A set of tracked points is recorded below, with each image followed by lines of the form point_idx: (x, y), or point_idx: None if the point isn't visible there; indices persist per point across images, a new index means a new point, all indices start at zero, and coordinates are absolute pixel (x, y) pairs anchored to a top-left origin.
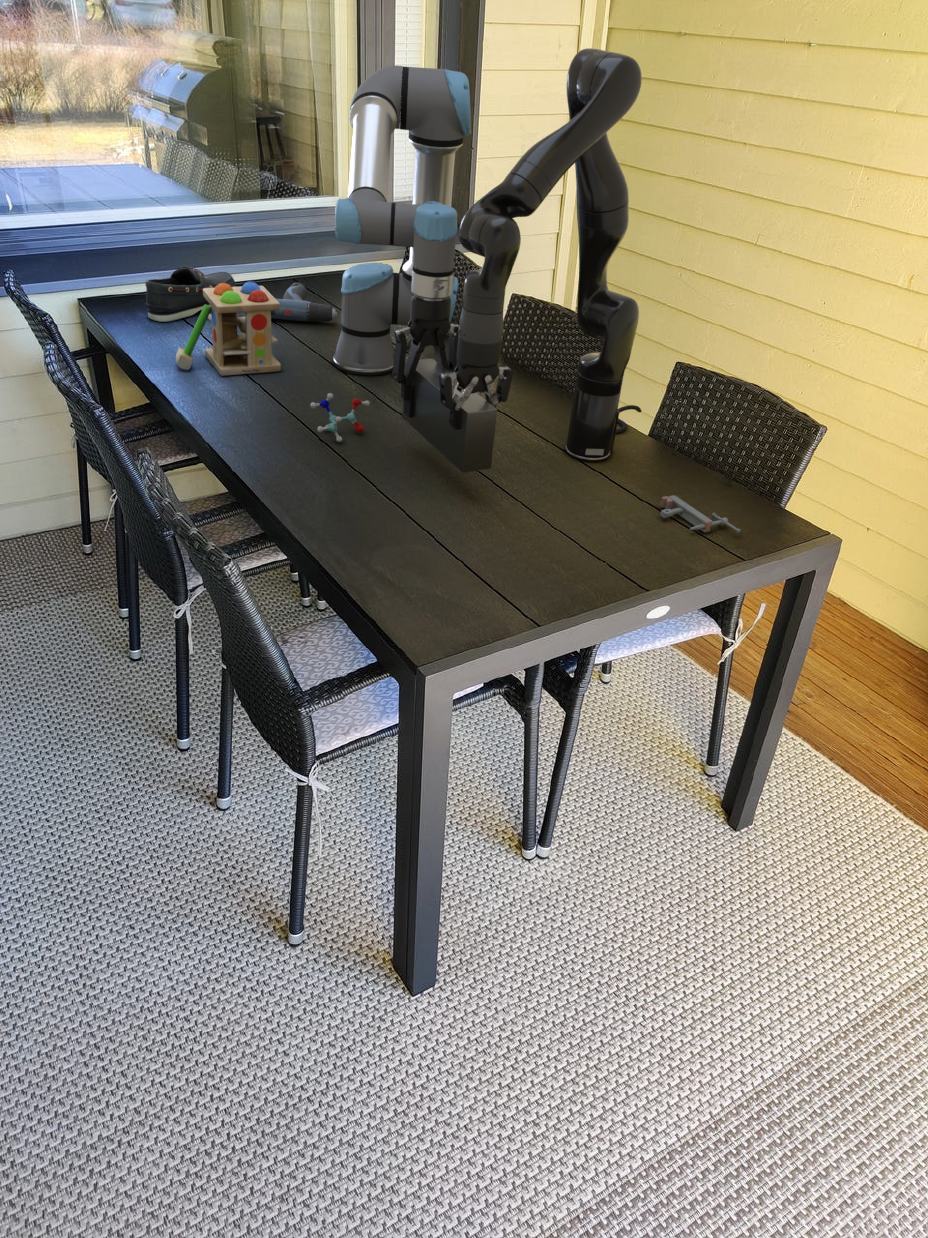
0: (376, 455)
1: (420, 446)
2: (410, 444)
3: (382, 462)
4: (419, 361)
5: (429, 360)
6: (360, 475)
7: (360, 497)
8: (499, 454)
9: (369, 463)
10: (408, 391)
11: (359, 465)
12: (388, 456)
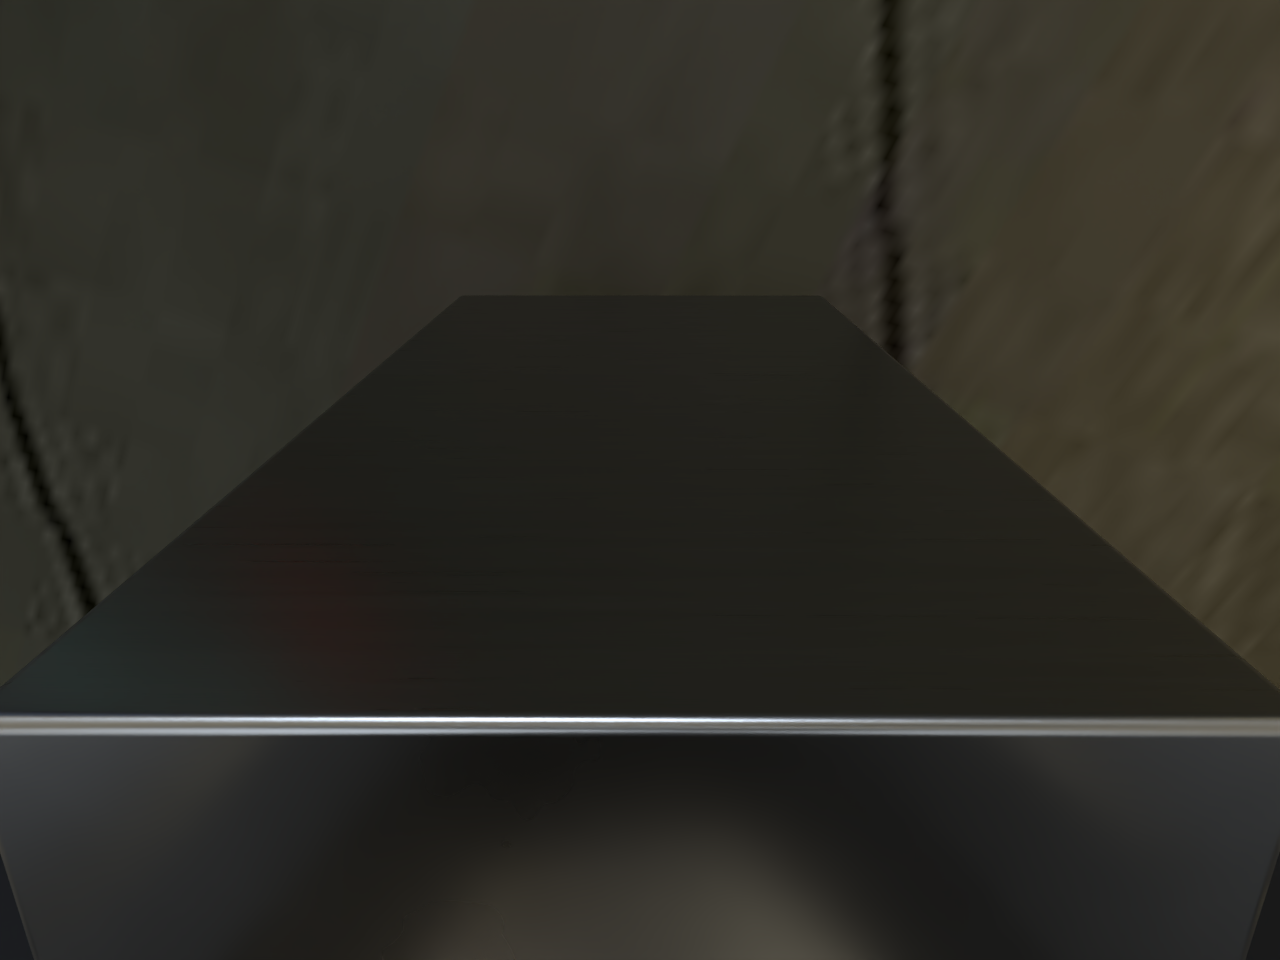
0: (271, 310)
1: (702, 259)
2: (636, 192)
3: (284, 441)
4: (578, 893)
5: (1034, 898)
6: (68, 581)
7: None
8: (1214, 579)
9: (177, 427)
10: None
11: (91, 436)
12: (364, 358)
